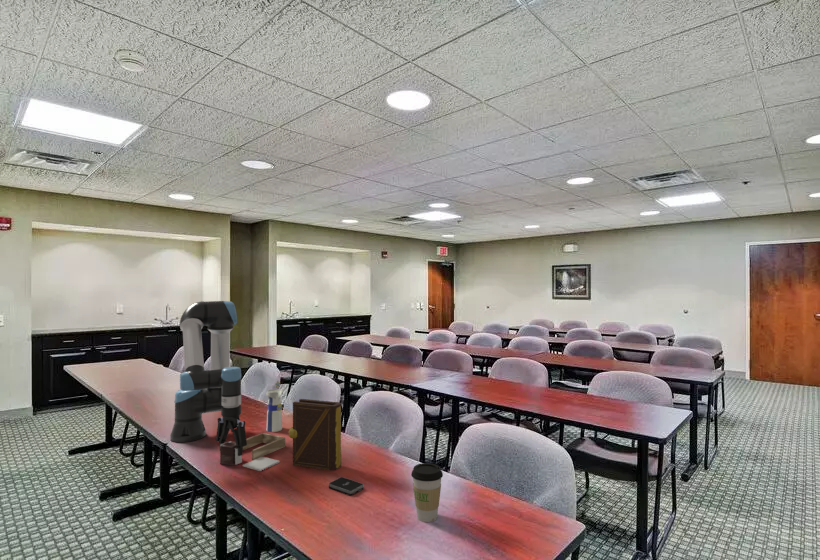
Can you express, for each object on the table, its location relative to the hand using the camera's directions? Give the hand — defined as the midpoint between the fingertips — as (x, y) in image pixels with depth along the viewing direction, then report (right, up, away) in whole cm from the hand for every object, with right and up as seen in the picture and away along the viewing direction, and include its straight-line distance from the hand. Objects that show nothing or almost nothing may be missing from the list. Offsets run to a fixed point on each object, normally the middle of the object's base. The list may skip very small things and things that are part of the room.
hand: (231, 461), depth 182 cm
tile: (+13, 0, -3) cm, 14 cm away
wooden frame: (+7, 0, +12) cm, 14 cm away
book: (+35, 0, -3) cm, 35 cm away
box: (0, -1, 0) cm, 1 cm away
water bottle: (+5, -1, +41) cm, 42 cm away
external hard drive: (+50, 0, -24) cm, 56 cm away
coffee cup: (+79, 0, -44) cm, 90 cm away
